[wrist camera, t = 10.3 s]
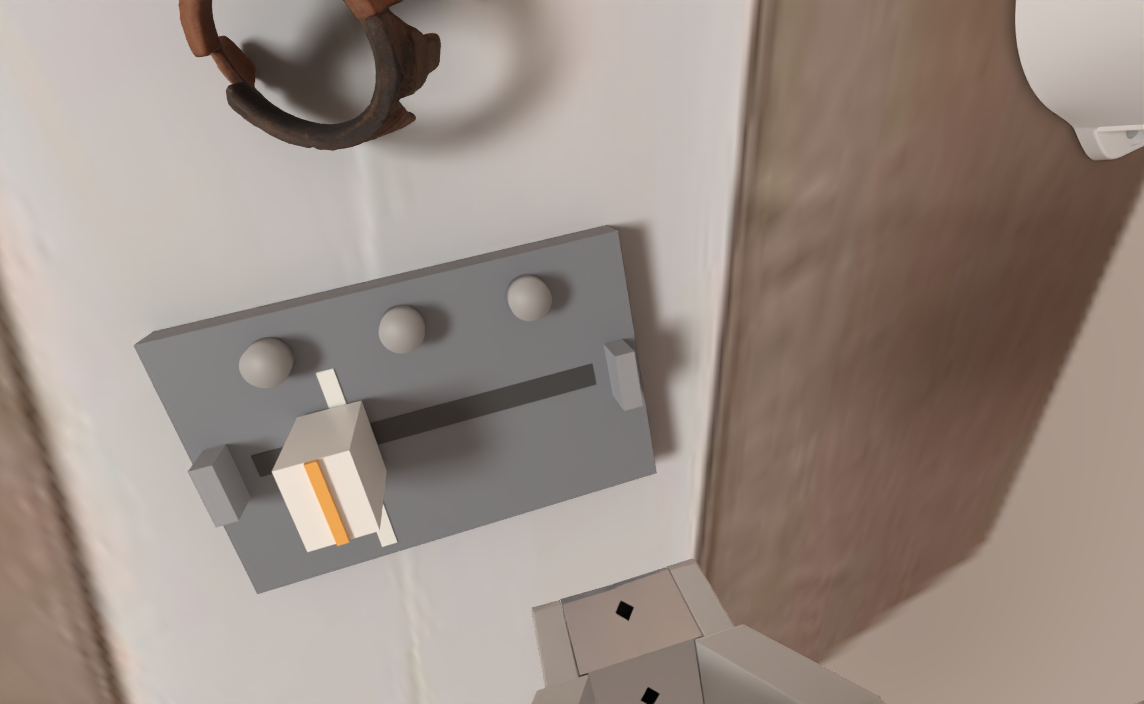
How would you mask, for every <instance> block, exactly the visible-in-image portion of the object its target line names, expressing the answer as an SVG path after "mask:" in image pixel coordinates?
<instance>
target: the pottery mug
mask: <svg viewBox="0 0 1144 704" xmlns="http://www.w3.org/2000/svg"><path fill="white" fill-rule="evenodd" d="M343 1H344V2H345V3H346V5H347V6H348V7H349V8H350V10H351V11H352V12H353V14H354V15H355V16H356V18H357V19H358V20H359V21H360V22H361V23H362V24H363V26H364V29H365V32H366V35H367V37H368V40H369V42H370V45H371V48H372V51H373V55H374V59H375V66H376V84H375V91H374V94H373V97H372V100H371V104H370V105H369V106H368V107H367V108H366V110H365V111H364V112H363V113H361V114H360V115H359V116H358V117H356V118H354V119H352V120H350V121H347V122H344V123H340V124H320V123H315V122H311V121H307V120H303V119H300V118H298V117H295V116H293V115H291V114H288V113H286V112H284V111H283V110H281V109H279V108H278V107H276V106H275V105H273V104H272V103H271V102H269V101H268V100H267V99H266V98H265V97H264V96H263V95H262V94H261V93H260V92H259V91H258V90H257V89H256V88H255V86H254V83H255V67H254V65H253V63H252V62H251V60H250V59H249V58H248V57H247V56H246V55H245V54H244V53H243V51H242V50H241V49H240V48H239V47H238V46H236V44H235V43H234V42H233V41H231V40H230V39H229V38H228V37H226V36H219V37H218V34H217V31H216V28H215V24H214V20H213V13H212V0H179V9H180V20H181V24H182V27H183V30H184V33H185V36H186V39H187V42H188V44H189V47H190V49H191V51H192V52H193V54H194V55H195V56H196V57H204V56H208V55H210V54H211V56H212V57H213V59H214V61H215V62H216V64H217V66H218V68H219V70H220V71H221V72H222V73H223V75H224V76H225V77H226V78H227V79H228V80H229V82H230V83H232V84H231V85H229V86H228V87H227V89H226V95H227V101H228V104H229V105H230V106H231V107H232V109H233V110H234V111H235V112H237V113H238V114H239V115H241V116H242V117H243V118H244V119H246V120H247V121H248V122H250V123H251V124H253V125H254V126H256V127H258V128H260V129H262V130H263V131H265V132H266V133H268V134H269V135H271V136H273V137H275V138H278V139H280V140H282V141H285V142H287V143H289V144H293V145H297V146H302V147H306V148H311V147H314V148H316V149H320V150H332V151H333V150H337V149H344V148H349V147H353V146H356V145H359V144H361V143H363V142H367V141H370V140H373V139H376V138H378V137H380V136H383V135H386V134H388V133H391V132H394V131H396V130H398V129H401V128H403V127H405V126H407V125H408V124H410V123H412V122H413V121H415V120H416V117H415V115H414V114H413V113H411V112H407V110H406V109H405V108H404V107H403V106H402V104H401V103H400V102H399V100H400V99H401V98H404V97H406V96H409V95H412V94H414V93H415V91H417V90H418V89H420V88H421V87H422V86H423V84H424V83H425V81H426V78H427V76H428V74H429V73H430V72H432V71H433V70H435V69H436V68H437V67H438V65H439V62H440V49H441V42H440V38H439V36H438V35H437V34H435V33H429V34H425V35H423V34H422V33H421V32H420V31H419V30H417V29H416V28H414V27H412V26H410V25H408V24H406V23H405V22H404V21H402V20H401V19H400V18H398V17H397V16H396V15H394V14H393V13H392V12H391V11H390V10H389V7H390V6H392V5H394V4H397V3H399V2H401V1H403V0H343Z"/></svg>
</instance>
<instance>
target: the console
mask: <svg viewBox="0 0 1144 704" xmlns="http://www.w3.org/2000/svg"><path fill="white" fill-rule="evenodd" d="M134 347H135V349H136V351H137V353H138V355H139V357H140V359H141V361H142V363H143V365H144V367H145V369H146V371H147V373H148V375H149V378H150V380H151V382H152V384H153V386H154V388H155V390H156V392H157V394H158V396H159V398H160V400H161V402H162V404H163V406H164V408H165V410H166V412H167V414H168V416H169V418H170V420H171V422H172V424H173V426H174V428H175V430H176V432H177V434H178V436H179V438H180V440H181V442H182V444H183V446H184V448H185V450H186V452H187V454H188V456H189V458H190V460H191V462H192V464H193V465H192V467H191V468H190V470H189V471H188V473H189V475H190V477H191V479H192V481H193V483H194V485H195V487H196V489H197V491H198V493H199V495H200V497H201V499H202V501H203V503H204V505H205V507H206V509H207V511H208V513H209V515H210V517H211V519H212V521H213V523H214V525H215V527H219V526H224V528H225V530H226V532H227V534H228V536H229V538H230V540H231V542H232V544H233V546H234V548H235V550H236V552H237V554H238V556H239V558H240V560H241V562H242V564H243V566H244V568H245V570H246V572H247V574H248V576H249V578H250V580H251V582H252V584H253V586H254V588H255V590H256V592H257V594H259V593H263V592H266V591H269V590H273V589H276V588H279V587H282V586H286V585H289V584H292V583H296V582H299V581H302V580H306V579H309V578H312V577H315V576H319V575H322V574H325V573H329V572H332V571H335V570H339V569H342V568H345V567H348V566H352V565H355V564H358V563H362V562H365V561H368V560H371V559H375V558H378V557H381V556H385V555H388V554H391V553H395V552H398V551H401V550H404V549H408V548H411V547H414V546H418V545H421V544H424V543H428V542H431V541H434V540H437V539H441V538H444V537H447V536H451V535H454V534H457V533H460V532H464V531H467V530H470V529H474V528H477V527H480V526H484V525H487V524H490V523H493V522H497V521H500V520H503V519H507V518H510V517H513V516H517V515H520V514H523V513H526V512H530V511H533V510H536V509H540V508H543V507H546V506H550V505H553V504H556V503H559V502H563V501H566V500H569V499H573V498H576V497H579V496H582V495H586V494H589V493H592V492H596V491H599V490H602V489H606V488H609V487H612V486H615V485H619V484H622V483H625V482H629V481H632V480H635V479H639V478H642V477H645V476H648V475H652V474H655V473H657V472H656V466H655V460H654V454H653V447H652V441H651V435H650V429H649V422H648V416H647V410H646V403H645V397H644V391H643V385H642V378H641V372H640V366H639V360H638V353H637V347H636V341H635V335H634V328H633V322H632V316H631V310H630V303H629V297H628V291H627V284H626V278H625V272H624V266H623V259H622V253H621V247H620V241H619V234H618V230H616V229H613V228H611V227H609V226H607V225H605V226H601V227H597V228H593V229H588V230H584V231H580V232H576V233H571V234H567V235H563V236H559V237H554V238H550V239H546V240H542V241H537V242H533V243H529V244H525V245H520V246H516V247H512V248H508V249H503V250H499V251H495V252H491V253H486V254H482V255H478V256H474V257H469V258H465V259H461V260H456V261H452V262H448V263H444V264H439V265H435V266H431V267H427V268H422V269H418V270H414V271H410V272H405V273H401V274H397V275H393V276H388V277H384V278H380V279H376V280H371V281H367V282H363V283H359V284H354V285H350V286H346V287H342V288H337V289H333V290H329V291H325V292H320V293H316V294H312V295H308V296H303V297H299V298H295V299H291V300H286V301H282V302H278V303H274V304H269V305H265V306H261V307H257V308H252V309H248V310H244V311H240V312H235V313H231V314H227V315H223V316H218V317H214V318H210V319H205V320H201V321H197V322H193V323H188V324H184V325H180V326H176V327H171V328H167V329H163V330H159V331H154V332H152V333H151V334H149V335H148V336H146V337H145V338H144V339H142V340H141V341H139V342H138V343H136V344H135V345H134ZM361 400H362V403H363V406H364V409H365V411H366V414H367V417H368V420H369V423H370V425H371V428H372V431H373V434H374V437H375V439H376V442H377V445H378V448H379V450H380V453H381V456H382V459H383V462H384V464H385V467H386V470H387V473H386V482H385V491H384V499H383V508H382V517H381V525H380V531H378V532H374V533H371V534H367V535H364V536H361V537H357V538H354V539H351V540H350V542H349V543H346V544H343V545H340V546H337V544H334V545H330V546H327V547H324V548H320V549H317V550H314V551H310V552H307V550H306V548H305V546H304V543H303V541H302V539H301V537H300V534H299V532H298V530H297V528H296V525H295V523H294V521H293V519H292V516H291V514H290V512H289V510H288V507H287V505H286V503H285V501H284V498H283V496H282V494H281V492H280V489H279V487H278V485H277V482H276V480H275V478H274V476H273V473H272V470H273V468H274V466H275V464H276V461H277V459H278V457H279V455H280V453H281V451H282V449H283V446H284V444H285V442H286V440H287V438H288V436H289V433H290V431H291V429H292V427H293V425H294V423H295V421H296V418H297V417H300V416H304V415H308V414H312V413H315V412H319V411H323V410H327V409H331V408H334V407H338V406H342V405H346V404H350V403H353V402H357V401H361Z"/></svg>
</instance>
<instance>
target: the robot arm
mask: <svg viewBox="0 0 1144 704" xmlns="http://www.w3.org/2000/svg"><path fill="white" fill-rule="evenodd" d="M1015 27H1016V39H1017V47H1018V52H1019V57H1020V61H1021V65H1022V68H1023V71H1024V73H1025V76H1026V78H1027V80H1028V82H1029V84H1030V86H1031V88H1032V90H1033V91H1034V93H1035V94H1036V96H1037V97H1038V98H1039V99H1040V101H1041V102H1042V103H1043V104H1044V105H1045V106H1046V107H1047V108H1049V109H1050V110H1051V111H1052V112H1054V113H1055V114H1057V115H1058V116H1060V117H1061V118H1063V119H1064V120H1066V121H1067V122H1068V123H1069V124H1070V125H1071V126H1072V127H1073V128H1074V130H1075V132H1076V135H1077V137H1078V139H1079V141H1080V144H1081V146H1082V148H1083V149H1084V151H1085V153H1086V154H1087V156H1088V157H1089V158H1091V159H1092V160H1110V159H1116V158H1119V157H1122V156H1124V155H1126V154H1128V153H1130V152H1132V151H1134V150H1136V149H1138V148H1140V147H1142V146H1144V0H1016V13H1015ZM560 600H561V603H560ZM560 600H559V601H555V602H551V603H548V604H544V605H540V606H537V607H533V608H532V617H533V623H534V628H535V634H536V639H537V644H538V650H539V655H540V661H541V666H542V672H543V677H544V682H545V688H544V689H541V690H539V691H537V692H536V695H535V697H534V699H533V702H532V704H885V703H884V701H883V700H882V699H881V698H880V696H878V695H876V694H874V693H872V692H870V691H868V690H867V689H865V688H863V687H861V686H859V685H857V684H855V683H853V682H851V681H849V680H848V679H846V678H844V677H842V676H840V675H838V674H836V673H835V672H833V671H831V670H829V669H827V668H825V667H823V666H821V665H819V664H818V663H816V662H814V661H812V660H810V659H808V658H806V657H804V656H803V655H801V654H799V653H797V652H795V651H793V650H791V649H789V648H787V647H786V646H784V645H782V644H780V643H778V642H776V641H774V640H772V639H770V638H769V637H767V636H765V635H763V634H761V633H759V632H757V631H755V630H753V629H752V628H750V627H748V626H746V625H744V624H742V625H739V626H735V625H734V624H733V622H732V620H731V619H730V617H729V615H728V614H727V612H726V610H725V609H724V607H723V605H722V604H721V602H720V600H719V598H718V597H717V595H716V593H715V592H714V590H713V588H712V587H711V585H710V583H709V582H708V580H707V578H706V577H705V575H704V573H703V572H702V570H701V568H700V567H699V565H698V563H697V562H696V561H695V560H693V559H690V560H687V561H683V562H680V563H677V564H674V565H671V566H668V567H666V568H662V569H659V570H656V571H653V572H650V573H646V574H643V575H640V576H637V577H634V578H631V579H628V580H624V581H621V582H618V583H615V584H613V585H609V586H606V587H602V588H599V589H595V590H592V591H588V592H584V593H581V594H577V595H574V596H570V597H567V598H563V599H560ZM561 604H562V606H561ZM562 608H563V610H562ZM563 612H564V614H563ZM564 616H565V617H564ZM565 620H566V621H565ZM566 624H567V625H566ZM1136 704H1144V701H1141V702H1139V703H1136Z"/></svg>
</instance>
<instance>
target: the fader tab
mask: <svg viewBox="0 0 1144 704" xmlns="http://www.w3.org/2000/svg"><path fill="white" fill-rule="evenodd" d="M272 473H273V476H274V478H275V480H276V482H277V485H278V487H279V489H280V492H281V494H282V496H283V498H284V501H285V503H286V505H287V507H288V510H289V512H290V514H291V516H292V519H293V521H294V523H295V525H296V528H297V530H298V532H299V534H300V537H301V539H302V541H303V543H304V546H305V548H306V550H307V552H310V551H314V550H317V549H320V548H324V547H327V546H330V545H334V544H337V546H340V545H343V544H346V543H349V542H350V540H351V539H354V538H357V537H361V536H364V535H367V534H371V533H374V532H378V531H380V525H381V517H382V508H383V499H384V491H385V482H386V473H387V470H386V467H385V464H384V462H383V459H382V456H381V453H380V450H379V448H378V445H377V442H376V439H375V437H374V434H373V431H372V428H371V425H370V423H369V420H368V417H367V414H366V411H365V409H364V406H363V403H362V400H361V401H357V402H353V403H350V404H346V405H342V406H338V407H334V408H331V409H327V410H323V411H319V412H315V413H312V414H308V415H304V416H300V417H297V418H296V421H295V423H294V425H293V427H292V429H291V431H290V433H289V436H288V438H287V440H286V442H285V444H284V446H283V449H282V451H281V453H280V455H279V457H278V459H277V461H276V464H275V466H274V468H273V470H272Z"/></svg>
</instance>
